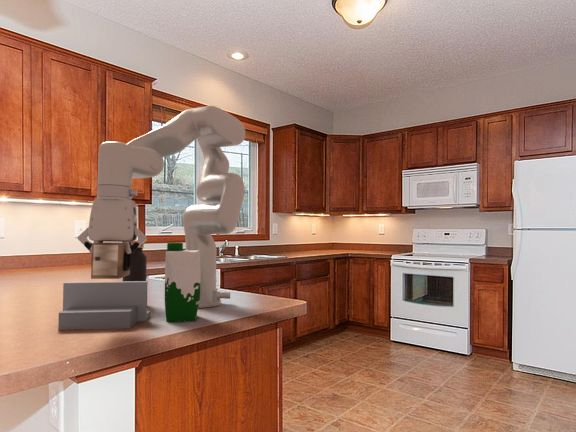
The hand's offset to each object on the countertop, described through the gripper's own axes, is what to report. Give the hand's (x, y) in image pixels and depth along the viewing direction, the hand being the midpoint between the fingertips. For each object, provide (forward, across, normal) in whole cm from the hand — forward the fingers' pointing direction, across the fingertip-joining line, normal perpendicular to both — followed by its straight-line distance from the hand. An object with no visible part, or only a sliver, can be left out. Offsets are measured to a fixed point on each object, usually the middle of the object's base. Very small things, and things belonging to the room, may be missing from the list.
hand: (111, 269), depth 92 cm
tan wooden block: (+2, 0, 0) cm, 2 cm away
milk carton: (+14, -15, -10) cm, 23 cm away
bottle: (+14, +2, -29) cm, 32 cm away
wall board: (+14, +4, -7) cm, 16 cm away
